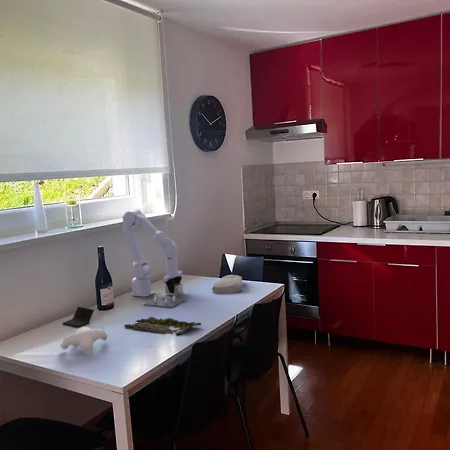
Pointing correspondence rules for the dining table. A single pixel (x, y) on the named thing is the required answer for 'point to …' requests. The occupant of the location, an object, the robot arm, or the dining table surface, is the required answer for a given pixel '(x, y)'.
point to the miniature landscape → (154, 325)
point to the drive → (175, 290)
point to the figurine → (84, 338)
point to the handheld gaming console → (80, 317)
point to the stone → (228, 284)
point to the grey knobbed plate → (164, 302)
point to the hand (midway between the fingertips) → (174, 291)
